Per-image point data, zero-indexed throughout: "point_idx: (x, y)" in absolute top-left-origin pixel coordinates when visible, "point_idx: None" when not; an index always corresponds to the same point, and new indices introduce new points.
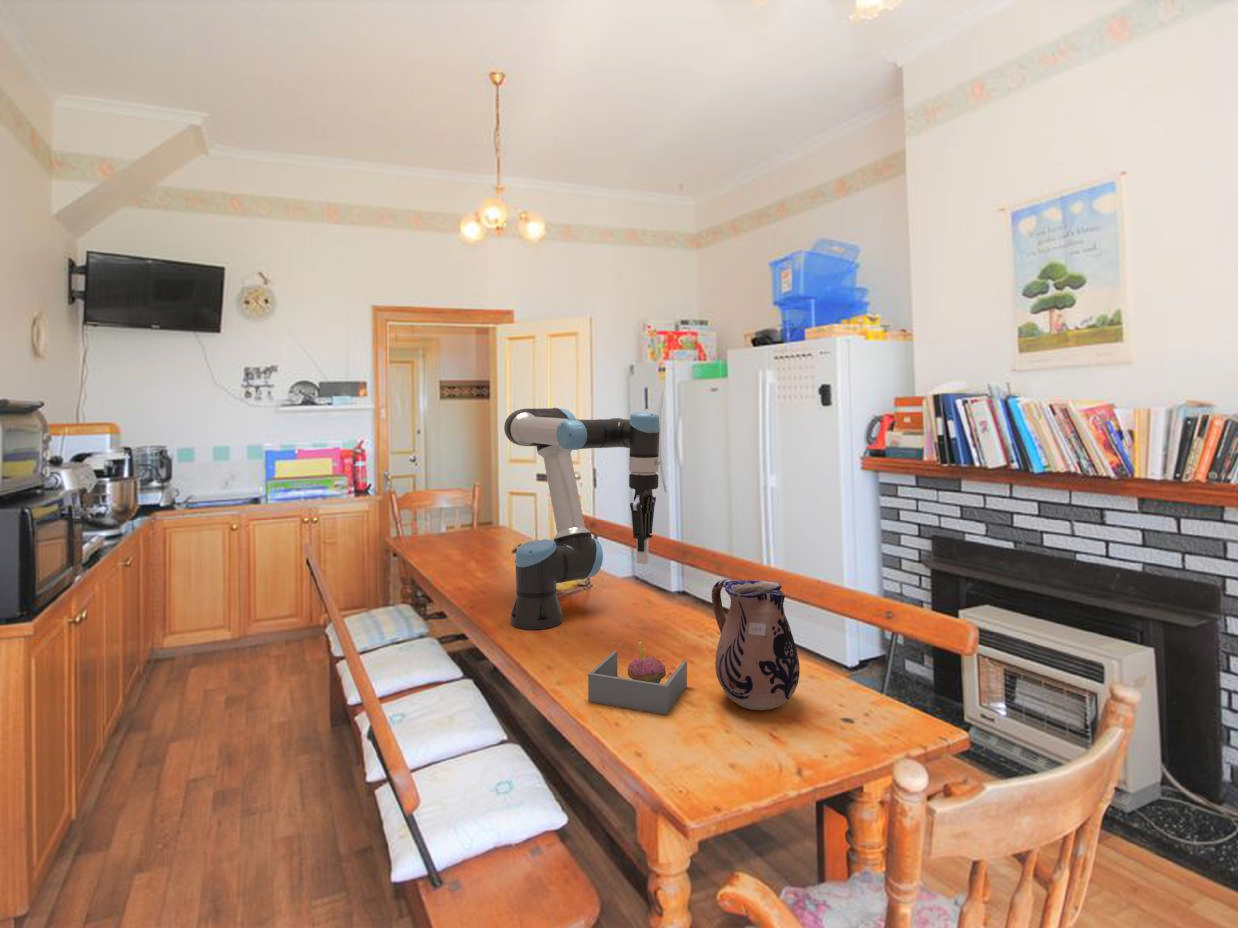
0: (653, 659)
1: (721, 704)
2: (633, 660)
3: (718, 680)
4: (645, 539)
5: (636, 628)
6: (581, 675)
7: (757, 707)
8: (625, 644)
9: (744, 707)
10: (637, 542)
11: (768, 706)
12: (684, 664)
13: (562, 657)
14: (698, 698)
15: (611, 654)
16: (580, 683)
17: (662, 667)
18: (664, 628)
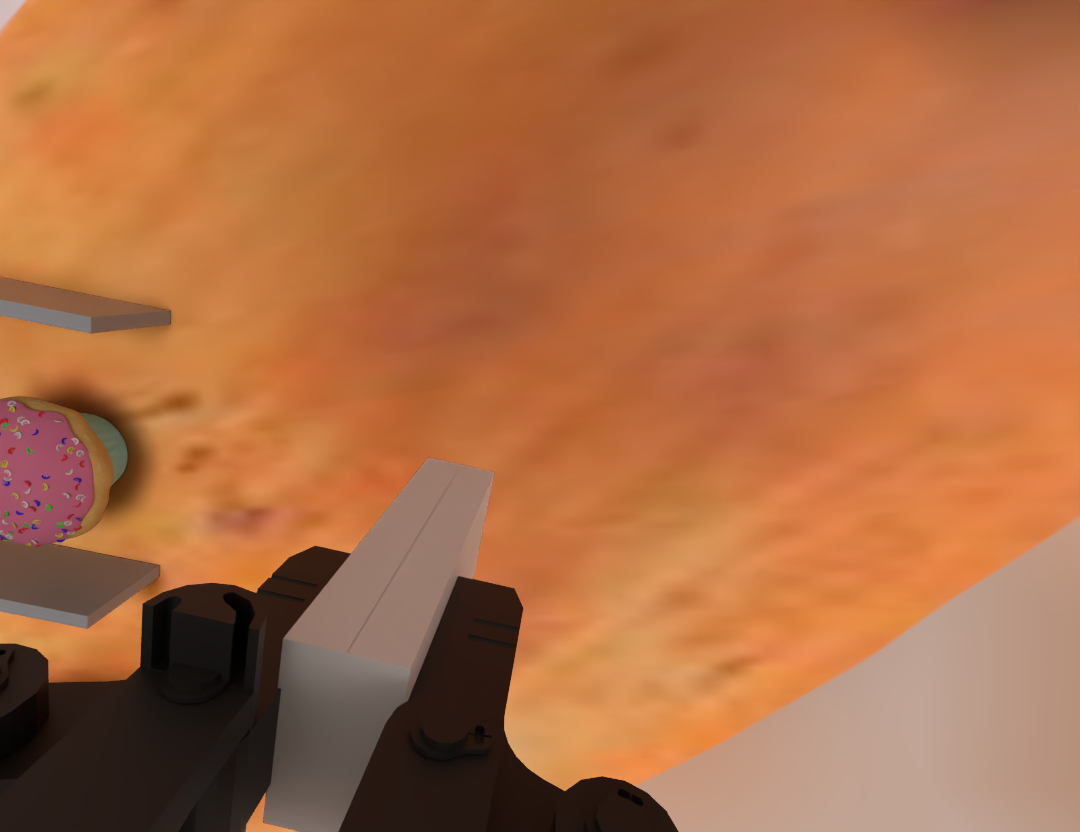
0: (7, 512)
1: (73, 677)
2: (20, 422)
3: None
4: (265, 800)
5: (759, 304)
6: (133, 173)
7: None
8: (525, 290)
9: None
10: (322, 601)
11: None
12: (53, 621)
13: (298, 20)
14: None
15: (45, 314)
16: (60, 190)
17: (14, 540)
18: (772, 438)
